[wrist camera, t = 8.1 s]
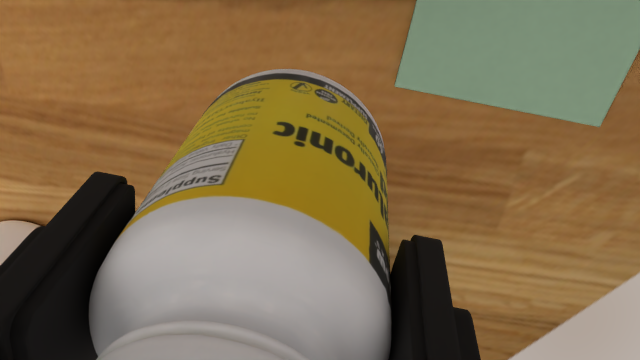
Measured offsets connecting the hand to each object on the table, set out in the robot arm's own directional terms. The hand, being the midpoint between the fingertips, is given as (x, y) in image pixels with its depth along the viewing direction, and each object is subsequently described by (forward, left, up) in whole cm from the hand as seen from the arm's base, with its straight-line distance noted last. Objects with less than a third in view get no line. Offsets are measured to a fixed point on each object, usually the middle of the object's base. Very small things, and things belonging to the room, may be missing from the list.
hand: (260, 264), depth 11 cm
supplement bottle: (0, 0, -5) cm, 5 cm away
